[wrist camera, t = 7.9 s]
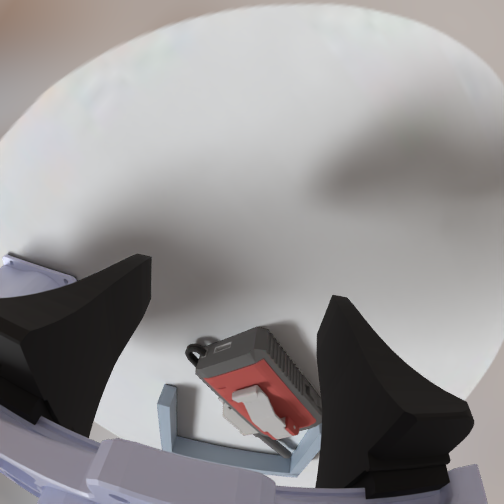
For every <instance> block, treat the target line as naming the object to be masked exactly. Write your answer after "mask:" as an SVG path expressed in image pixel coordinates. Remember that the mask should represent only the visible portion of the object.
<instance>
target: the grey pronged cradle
mask: <svg viewBox="0 0 504 504" xmlns="http://www.w3.org/2000/svg"><path fill="white" fill-rule="evenodd" d="M157 408H158V419H159V428H160V437H161V445H162V450H163V451H167V452H171V453H174V454H178V455H182V456H186V457H190V458H195V459H199V460H203V461H208V462H213V463H218V464H223V465H229V466H235V467H240V468H244V469H248V470H252V471H256V472H260V473H262V474H267V475H275V476H285V477H298V475H299V474H300V473H301V472H302V471H303V470H304V468H305V467H306V466H307V465H308V464H309V463H310V461H311V460H312V459H313V458H314V456H315V455H316V454H317V453H318V452H319V450H320V446H321V430H322V423H320V424H319V425H317V426H316V427H313V428H311V429H309V430H308V431H307V433H306V434H305V436H304V437H303V439H302V440H301V442H300V443H299V445H298V446H297V448H296V449H295V451H294V452H293V454H292V455H291V457H290V458H288V459H285V458H284V457H282V456H281V455H273V454H265V453H258V452H252V451H245V450H239V449H234V448H228V447H223V446H218V445H213V444H209V443H204V442H200V441H195V440H191V439H187V438H183V437H179V436H177V387H173V386H169V385H166V384H165V385H164V387H163V390H162V392H161V395H160V397H159V400H158V403H157Z"/></svg>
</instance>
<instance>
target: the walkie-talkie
mask: <svg viewBox="0 0 504 504" xmlns="http://www.w3.org/2000/svg"><path fill="white" fill-rule="evenodd" d="M192 352H197V353H198V354H200V357H199V359H198V358H197V357H196V356H195V355H194V354H193V353H192ZM185 354H186V356H187V358H188V360H189V361H190V362H191V363H192V364H193V365H194V366H195V367H196V375H197V376H198V377H199V378H200V379H201V380H202V381H203V382H204V383H206V384H207V386H208V387H210V388H211V390H212V391H214V392H215V394H217V395H218V396H219V398H218V399H219V400H220V401H221V402H222V403H223V417H224V418H225V419H226V420H227V421H229V422H230V423H231V424H232V425H233V426H234V427H236V428H237V429H238V430H239V431H240V433H241V434H242V435H244V436H245V435H251V434H253V435H254V436H256V437H259V438H260V439H261V440H262V441H264V442H265V443H266V444H267V445H268V446H270V447H271V448H272V449H274V450H275V451H276V452H277V453H279V454H280V455H281V456H282V457H284V458H285V459H288V458H290V457H291V452H290V451H289V450H287V449H286V448H285V447H284V446H283V445H281V444H280V443H279V442H278V441H277V439H282V438H286V437H290V436H295V435H298V433H299V431H302V430H306V429H311V428H313V427H316V426H317V425H319V424H320V423H322V400H321V398H320V396H319V395H318V394H317V392H316V391H315V390H314V389H313V387H312V386H311V385H310V383H309V382H308V381H307V380H306V378H305V377H304V376H303V375H301V372H300V371H298V368H296V367H295V364H293V363H292V360H290V359H289V356H287V355H286V352H284V351H283V348H282V347H280V344H279V343H277V342H276V339H275V338H273V335H272V334H270V333H269V330H268V329H264V328H260V327H255V328H252V329H250V330H247V331H245V332H242V333H240V334H237V335H235V336H232V337H230V338H227V339H224V340H222V341H219V342H216V343H214V344H211V345H208V346H206V347H202V346H200V345H199V344H190V345H188V346H187V349H186V352H185Z"/></svg>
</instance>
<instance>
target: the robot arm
mask: <svg viewBox="0 0 504 504" xmlns="http://www.w3.org/2000/svg"><path fill="white" fill-rule="evenodd" d="M151 258H152V257H150V256H145V255H141V254H136V255H133V256H131V257H129V258H127V259H125V260H122V261H120V262H118V263H116V264H114V265H112V266H110V267H108V268H106V269H104V270H102V271H100V272H98V273H95V274H93V275H91V276H88V277H86V278H84V279H82V280H79V281H77V280H76V279H75V278H74V277H73V276H70V275H67V274H64V273H61V272H58V271H54V270H51V269H48V268H45V267H42V266H39V265H36V264H33V263H30V262H27V261H24V260H21V259H18V258H15V257H12V256H9V255H4V256H3V263H4V265H3V266H2V267H1V268H0V472H1V473H2V474H4V475H5V476H6V477H8V478H9V479H11V480H12V481H13V482H15V483H16V484H18V485H19V486H21V487H22V488H24V489H25V490H27V491H28V492H30V493H32V494H33V495H35V496H36V497H38V498H39V500H38V502H37V504H488V503H487V498H486V495H485V491H484V487H483V483H482V479H481V476H480V472H479V469H478V465H477V464H473V465H468V466H463V467H458V468H455V469H452V470H450V471H448V472H447V468H446V464H448V463H450V457H449V452H450V451H452V450H453V449H454V448H455V447H456V446H457V445H458V444H459V443H460V442H461V441H463V440H464V439H465V437H467V435H468V434H469V433H470V431H471V430H472V428H473V426H474V419H473V416H472V414H471V411H470V409H469V406H468V404H467V402H466V401H464V400H462V399H460V398H458V397H456V396H454V395H452V394H450V393H448V392H446V391H445V390H443V389H441V388H440V387H438V386H436V385H435V384H433V383H432V382H430V381H429V380H427V379H426V378H424V377H423V376H422V375H420V374H419V373H418V372H416V371H415V370H414V369H413V368H411V367H410V366H409V365H408V364H407V363H405V362H404V361H403V360H402V359H401V358H400V357H399V356H398V355H397V354H396V353H394V352H393V351H392V350H391V349H390V348H389V346H388V345H387V344H386V343H385V342H384V341H383V340H382V339H381V338H380V337H379V336H378V334H377V333H376V332H375V331H374V330H373V329H372V327H371V326H370V325H369V324H368V322H367V321H366V320H365V319H364V318H363V316H362V315H361V314H360V312H359V311H358V310H357V309H356V307H355V306H354V305H353V304H352V303H351V301H350V300H349V299H348V298H347V297H341V296H336V295H332V297H331V300H330V303H329V305H328V308H327V310H326V313H325V316H324V318H323V321H322V323H321V326H320V328H319V330H318V333H317V364H318V373H319V381H320V390H321V400H322V430H321V446H320V457H319V466H318V474H317V481H316V487H315V488H301V487H286V486H276V484H275V482H274V481H273V480H272V479H270V478H269V477H267V476H265V475H263V474H262V473H260V472H256V471H252V470H248V469H244V468H240V467H235V466H229V465H223V464H218V463H213V462H208V461H203V460H199V459H195V458H190V457H186V456H182V455H178V454H174V453H171V452H167V451H163V450H160V449H156V448H153V447H150V446H147V445H143V444H140V443H137V442H133V441H128V440H124V439H120V438H116V439H108V440H103V441H102V442H101V443H98V442H96V441H94V440H91V439H89V435H90V431H91V428H92V423H93V421H94V418H95V415H96V411H97V408H98V405H99V402H100V400H101V397H102V394H103V392H104V389H105V387H106V384H107V382H108V379H109V377H110V375H111V372H112V370H113V368H114V365H115V363H116V362H117V360H118V358H119V356H120V354H121V353H122V351H123V349H124V348H125V346H126V344H127V343H128V341H129V339H130V338H131V336H132V335H133V333H134V331H135V330H136V328H137V326H138V325H139V323H140V321H141V320H142V318H143V316H144V314H145V311H146V309H147V307H148V304H149V302H150V300H151Z"/></svg>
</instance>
